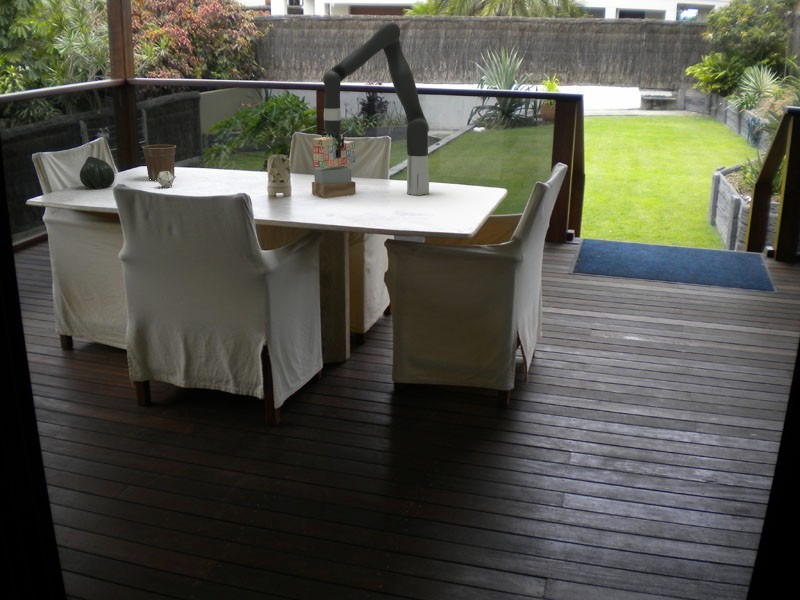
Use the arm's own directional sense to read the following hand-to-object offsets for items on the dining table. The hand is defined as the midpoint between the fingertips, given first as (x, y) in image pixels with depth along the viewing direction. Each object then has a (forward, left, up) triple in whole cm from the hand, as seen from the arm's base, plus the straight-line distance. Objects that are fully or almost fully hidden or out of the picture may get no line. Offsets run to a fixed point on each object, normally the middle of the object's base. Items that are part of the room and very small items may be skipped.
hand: (333, 156), depth 374 cm
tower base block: (0, 0, -17) cm, 17 cm away
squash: (+82, +76, -17) cm, 113 cm away
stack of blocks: (0, -1, -4) cm, 4 cm away
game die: (+63, +51, -17) cm, 83 cm away
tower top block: (+1, 0, -11) cm, 11 cm away
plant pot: (+86, +43, -17) cm, 98 cm away
